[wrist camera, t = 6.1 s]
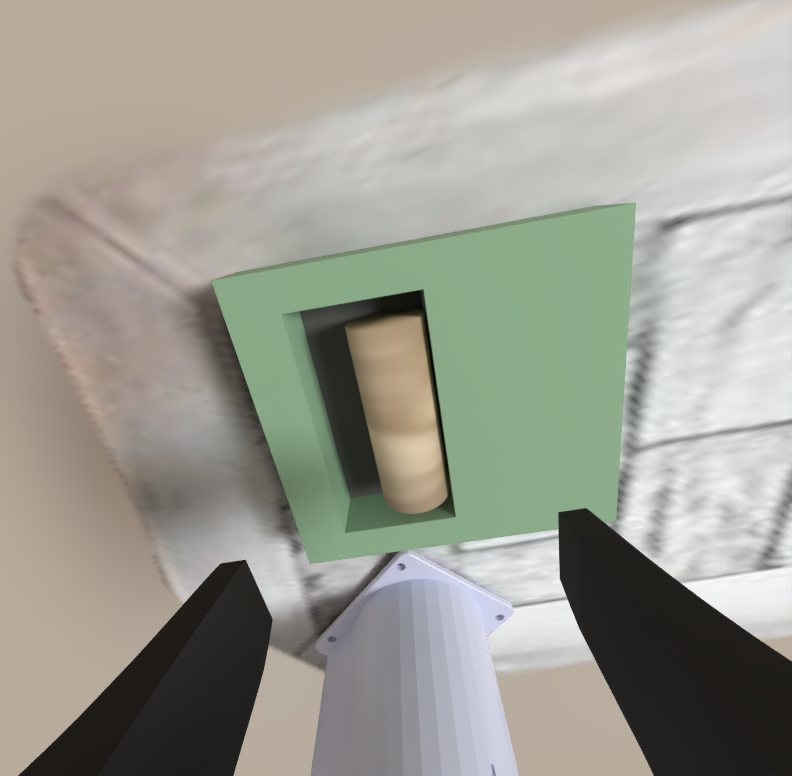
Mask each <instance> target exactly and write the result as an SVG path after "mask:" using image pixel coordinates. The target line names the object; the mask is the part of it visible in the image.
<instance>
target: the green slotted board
mask: <svg viewBox="0 0 792 776" xmlns="http://www.w3.org/2000/svg"><path fill="white" fill-rule="evenodd" d="M635 208H636V203H626V204H614V205H601V206H593V207H588V208H582V209H577V210H572V211H566V212H561V213H555V214H550V215H545V216H539V217H534V218H528V219H523V220H517V221H512V222H507V223H501V224H496V225H490V226H485V227H480V228H474V229H469V230H463V231H458V232H452V233H447V234H442V235H436V236H431V237H425V238H420V239H415V240H409V241H404V242H398V243H393V244H387V245H382V246H377V247H371V248H366V249H360V250H355V251H350V252H344V253H339V254H333V255H328V256H322V257H317V258H312V259H306V260H301V261H295V262H290V263H285V264H279V265H274V266H268V267H263V268H257V269H252V270H247V271H241V272H237V273H234V274H231V275H228V276H225V277H222V278H218V279H215V280H212V281H211V282H212V285H213V288H214V291H215V293H216V296H217V299H218V302H219V305H220V308H221V311H222V313H223V316H224V319H225V322H226V325H227V328H228V331H229V334H230V336H231V339H232V342H233V345H234V348H235V351H236V354H237V356H238V359H239V362H240V365H241V368H242V371H243V374H244V376H245V379H246V382H247V385H248V388H249V391H250V394H251V396H252V399H253V402H254V405H255V408H256V411H257V414H258V416H259V419H260V422H261V425H262V428H263V431H264V434H265V437H266V439H267V442H268V445H269V448H270V451H271V454H272V457H273V459H274V462H275V465H276V468H277V471H278V474H279V477H280V479H281V482H282V485H283V488H284V491H285V494H286V497H287V499H288V502H289V505H290V508H291V511H292V514H293V517H294V519H295V522H296V525H297V528H298V531H299V534H300V537H301V540H302V542H303V545H304V548H305V551H306V554H307V557H308V560H309V562H310V564H313V563H320V562H327V561H334V560H341V559H348V558H355V557H362V556H370V555H377V554H384V553H391V552H398V551H405V550H412V549H419V548H426V547H434V546H441V545H448V544H455V543H462V542H469V541H476V540H483V539H490V538H498V537H505V536H512V535H519V534H526V533H533V532H540V531H547V530H554V529H559V524H558V512H563V511H570V510H576V509H583V508H587V509H588V510H590V511H591V512H592V513H593V514H595V515H596V516H597V517H598V518H600V519H601V520H602V521H603V522H611V521H616V511H617V495H618V479H619V463H620V447H621V431H622V415H623V399H624V384H625V368H626V352H627V336H628V320H629V304H630V288H631V272H632V256H633V240H634V224H635ZM403 308H413V309H420V310H422V311H423V312H424V317H425V324H426V331H427V338H428V345H429V351H430V358H431V365H432V372H433V379H434V385H435V392H436V399H437V406H438V413H439V419H440V426H441V433H442V440H443V446H444V453H445V460H446V467H447V474H448V480H449V487H450V490H449V494H448V496H447V498H446V500H445V501H444V502H443V503H442V504H440V505H439V506H438V507H436V508H434V509H432V510H430V511H427V512H423V513H418V514H405V513H400V512H397V511H395V510H393V509H391V508H390V507H389V506H388V505H387V504H386V502H385V499H384V495H383V491H382V487H381V482H380V478H379V474H378V469H377V465H376V461H375V456H374V452H373V448H372V443H371V439H370V434H369V430H368V426H367V421H366V417H365V413H364V408H363V404H362V400H361V395H360V391H359V387H358V382H357V378H356V374H355V369H354V365H353V361H352V356H351V352H350V348H349V343H348V339H347V335H346V330H345V325H346V324H347V323H348V322H350V321H352V320H354V319H356V318H359V317H362V316H365V315H368V314H372V313H376V312H381V311H386V310H393V309H403Z"/></svg>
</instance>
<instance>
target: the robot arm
mask: <svg viewBox="0 0 792 776" xmlns="http://www.w3.org/2000/svg"><path fill="white" fill-rule="evenodd" d="M558 524H559V562H560V580H561V583H562V585H563V588H564V591H565V593H566V596H567V598H568V601H569V604H570V606H571V609H572V611H573V614H574V616H575V619H576V621H577V624H578V626H579V628H580V630H581V632H582V634H583V636H584V638H585V640H586V642H587V644H588V646H589V648H590V650H591V652H592V654H593V656H594V658H595V660H596V662H597V664H598V666H599V668H600V670H601V672H602V674H603V676H604V678H605V680H606V681H607V684H608V685H609V687H610V689H611V691H612V693H613V695H614V697H615V699H616V701H617V703H618V705H619V707H620V709H621V710H622V713H623V715H624V717H625V719H626V721H627V722H628V724H629V726H630V728H631V730H632V732H633V734H634V736H635V738H636V740H637V742H638V744H639V746H640V748H641V750H642V752H643V754H644V755H645V758H646V760H647V762H648V764H649V766H650V768H651V770H652V772H653V775H654V776H792V661H790V660H789V659H787V658H786V657H784V656H783V655H781V654H780V653H778V652H777V651H775V650H774V649H772V648H770V647H769V646H768V645H766V644H765V643H763V642H762V641H760V640H759V639H757V638H756V637H754V636H753V635H752V634H750V633H749V632H747V631H746V630H744V629H743V628H742V627H740V626H739V625H737V624H736V623H734V622H733V621H732V620H730V619H729V618H727V617H726V616H725V615H723V614H722V613H720V612H719V611H717V610H716V609H715V608H713V607H712V606H711V605H709V604H708V603H706V602H705V601H704V600H702V599H701V598H700V597H698V596H697V595H696V594H694V593H693V592H692V591H690V590H689V589H688V588H686V587H685V586H684V585H682V584H681V583H680V582H678V581H677V580H676V579H675V578H673V577H672V576H671V575H669V574H668V573H667V572H665V571H664V570H663V569H661V568H660V567H659V566H658V565H656V564H655V563H654V562H652V561H651V560H650V559H649V558H647V557H646V556H645V555H644V554H642V553H641V552H640V551H639V550H637V549H636V548H635V547H634V546H632V545H631V544H630V543H629V542H627V541H626V540H625V539H624V538H623V537H621V536H620V535H619V534H618V533H616V532H615V531H614V530H613V529H612V528H610V527H609V526H608V525H607V524H606V523H604V522H603V521H602V520H601V519H600V518H598V517H597V516H596V515H595V514H593V513H592V512H591V511H590V510H588V509H587V508H583V509H576V510H570V511H563V512H558ZM400 563H402V565H399V564H400ZM513 612H514V610H513V607H512V604H511V603H510V602H508V601H506V600H504V599H502V598H500V597H498V596H497V595H495V594H493V593H491V592H489V591H487V590H485V589H483V588H482V587H480V586H478V585H476V584H474V583H472V582H470V581H468V580H466V579H465V578H463V577H461V576H459V575H457V574H455V573H453V572H451V571H449V570H448V569H446V568H444V567H442V566H440V565H438V564H436V563H434V562H433V561H431V560H429V559H427V558H425V557H423V556H421V555H419V554H417V553H416V552H414V551H412V550H405V551H399V552H398V553H397V554H396V555H395V556H394V558H393V559H392V560H391V561H390V562H389V563H388V564H387V565H386V566H385V567H384V568H383V569H382V570H381V572H380V573H379V574H378V575H377V576H376V577H375V578H374V579H373V580H372V581H371V582H370V583H369V584H368V586H367V587H366V588H365V589H364V590H363V591H362V592H361V593H360V594H359V595H358V596H357V597H356V598H355V600H354V601H353V602H352V603H351V604H350V605H349V606H348V607H347V608H346V609H345V610H344V611H343V612H342V614H341V615H340V616H339V617H338V618H337V619H336V620H335V621H334V622H333V623H332V624H331V625H330V626H329V628H328V629H327V630H326V631H325V632H324V633H323V634H322V635H321V636H320V637H319V638H318V639H317V641H316V645H315V649H316V651H317V652H319V653H321V654H323V655H326V656H328V658H327V665H326V672H325V679H324V686H323V692H322V699H321V706H320V714H319V721H318V727H317V734H316V741H315V748H314V755H313V761H312V769H311V776H519V774H518V770H517V765H516V761H515V757H514V753H513V748H512V744H511V739H510V735H509V731H508V726H507V722H506V718H505V714H504V709H503V705H502V701H501V696H500V692H499V688H498V683H497V679H496V675H495V670H494V666H493V662H492V657H491V653H490V649H489V645H488V640H487V636H488V635H489V634H491V633H492V632H493V631H494V630H495V629H496V628H498V627H499V626H500V625H501V624H502V623H503V622H505V621H506V620H507V619H508V618H509V617H510V616H512V614H513ZM272 620H273V619H272V617H271V615H270V613H269V611H268V608H267V606H266V604H265V602H264V599H263V597H262V595H261V593H260V591H259V588H258V586H257V584H256V582H255V580H254V577H253V575H252V573H251V571H250V568H249V566H248V564H247V562H246V560H241V561H235V562H228V563H221V564H220V565H219V566H218V567H217V568H216V569H215V570H214V571H213V572H212V573H211V574H210V575H209V576H208V578H207V579H206V580H205V581H204V582H203V583H202V584H201V585H200V586H199V588H198V589H197V590H196V591H195V592H194V593H193V594H192V595H191V596H190V598H189V599H188V600H187V601H186V602H185V603H184V604H183V606H182V607H181V608H180V609H179V610H178V611H177V612H176V613H175V615H174V616H173V617H172V618H171V619H170V620H169V621H168V622H167V624H166V625H165V626H164V627H163V628H162V629H161V630H160V631H159V632H158V634H157V635H156V636H155V637H154V638H153V639H152V640H151V641H150V642H149V643H148V644H147V646H146V647H145V648H144V649H143V650H142V651H141V652H140V653H139V654H138V656H137V657H136V658H135V659H134V660H133V661H132V662H131V663H130V664H129V665H128V666H127V667H126V668H125V669H124V670H123V671H122V673H121V674H120V675H119V676H118V677H117V678H116V679H115V680H114V681H113V682H112V683H111V684H110V685H109V686H108V687H107V688H106V689H105V690H104V691H103V692H102V693H101V695H99V697H98V698H97V699H96V700H95V701H94V702H93V703H92V704H91V705H90V706H89V707H88V708H87V709H86V710H85V711H84V712H83V713H82V714H81V715H80V717H78V719H76V720H75V721H74V722H73V723H72V725H70V726H69V727H68V728H67V729H66V730H65V731H64V733H62V734H61V735H60V736H59V737H58V738H57V739H56V740H55V741H54V742H53V743H52V744H51V745H50V746H49V747H48V748H47V749H46V750H45V751H44V752H43V753H42V754H41V755H40V756H39V757H37V759H35V760H34V761H33V762H32V763H31V764H30V765H29V766H28V767H27V768H26V769H25V770H24V771H23V772H22V773H21V774H19V776H233V775H234V771H235V768H236V764H237V761H238V758H239V754H240V751H241V747H242V744H243V741H244V737H245V734H246V730H247V727H248V724H249V720H250V716H251V713H252V710H253V706H254V703H255V699H256V696H257V692H258V689H259V685H260V681H261V678H262V674H263V670H264V666H265V660H266V655H267V650H268V645H269V638H270V632H271V626H272Z"/></svg>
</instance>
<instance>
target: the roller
mask: <svg viewBox="0 0 792 776" xmlns="http://www.w3.org/2000/svg"><path fill="white" fill-rule="evenodd" d="M345 330H346V335H347V339H348V343H349V348H350V352H351V356H352V361H353V365H354V369H355V374H356V378H357V382H358V387H359V391H360V395H361V400H362V404H363V408H364V413H365V417H366V421H367V426H368V430H369V434H370V439H371V443H372V448H373V452H374V456H375V461H376V465H377V469H378V474H379V478H380V482H381V487H382V491H383V495H384V499H385V502H386V504H387V505H388V506H389V507H390V508H391V509H393V510H395V511H397V512H400V513H405V514H418V513H423V512H427V511H430V510H432V509H434V508H436V507H438V506H439V505H440V504H442V503H443V502H444V501H445V500H446V498H447V496H448V494H449V490H450V487H449V480H448V474H447V467H446V460H445V453H444V446H443V440H442V433H441V426H440V419H439V413H438V406H437V399H436V392H435V385H434V379H433V372H432V365H431V358H430V351H429V345H428V338H427V331H426V324H425V317H424V312H423V311H422V310H420V309H413V308H403V309H393V310H386V311H381V312H376V313H372V314H368V315H365V316H362V317H359V318H356V319H354V320H352V321H350V322H348V323H347V324H346V325H345Z"/></svg>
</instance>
